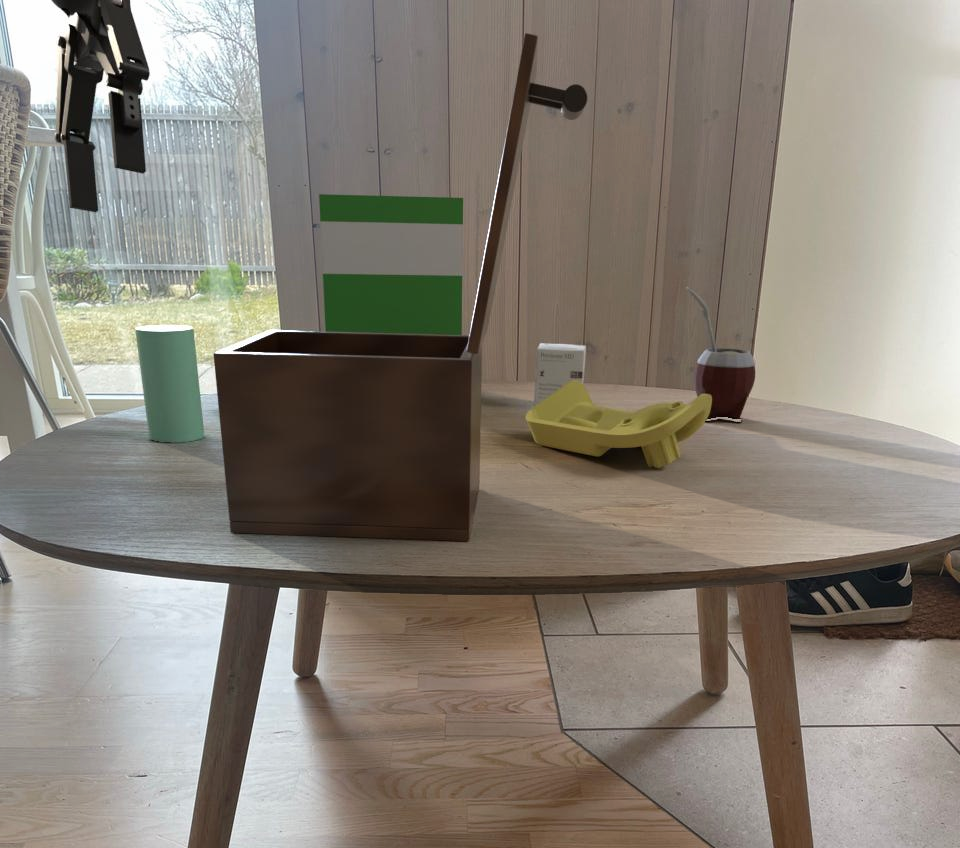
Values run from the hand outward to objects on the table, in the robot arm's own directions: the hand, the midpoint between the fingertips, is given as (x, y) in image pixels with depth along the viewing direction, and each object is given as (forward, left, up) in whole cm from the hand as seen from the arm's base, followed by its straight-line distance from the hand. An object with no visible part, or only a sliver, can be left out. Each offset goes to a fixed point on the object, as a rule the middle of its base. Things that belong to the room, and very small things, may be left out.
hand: (105, 191), depth 92 cm
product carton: (+47, +20, -24) cm, 57 cm away
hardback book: (+25, +28, -24) cm, 44 cm away
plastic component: (+52, -7, -24) cm, 58 cm away
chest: (+30, -29, -23) cm, 48 cm away
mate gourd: (+66, +14, -24) cm, 72 cm away
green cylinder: (+6, -5, -23) cm, 25 cm away
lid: (+40, -29, -1) cm, 49 cm away
